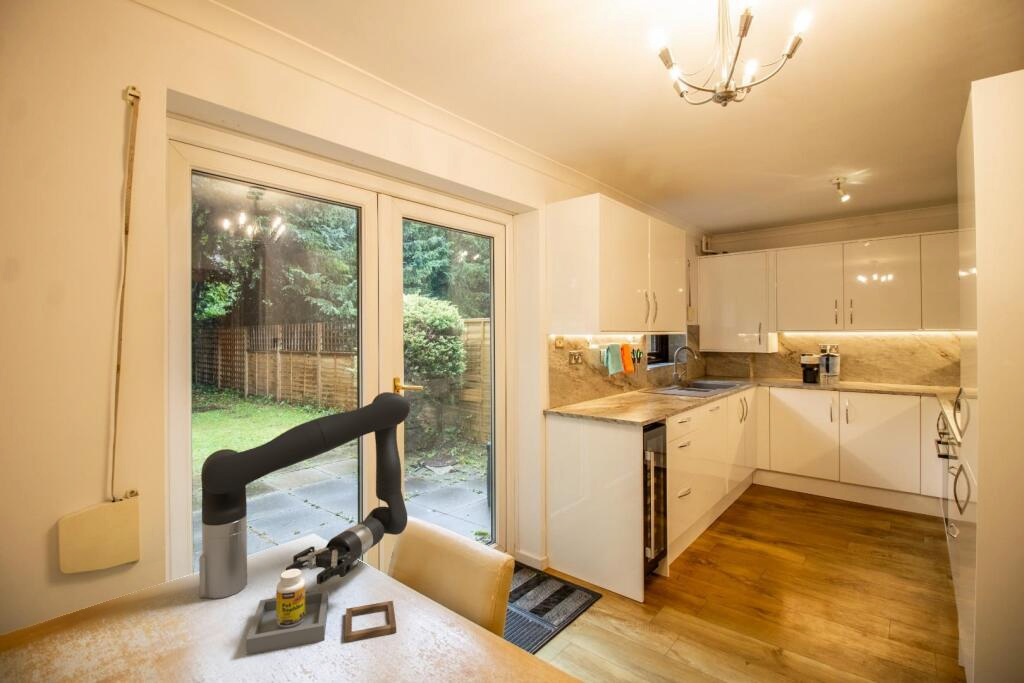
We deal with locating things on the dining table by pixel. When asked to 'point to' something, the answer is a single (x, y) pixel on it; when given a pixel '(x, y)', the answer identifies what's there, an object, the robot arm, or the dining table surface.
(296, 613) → the supplement bottle
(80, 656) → the dining table surface
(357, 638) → the holder frame
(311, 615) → the tray
